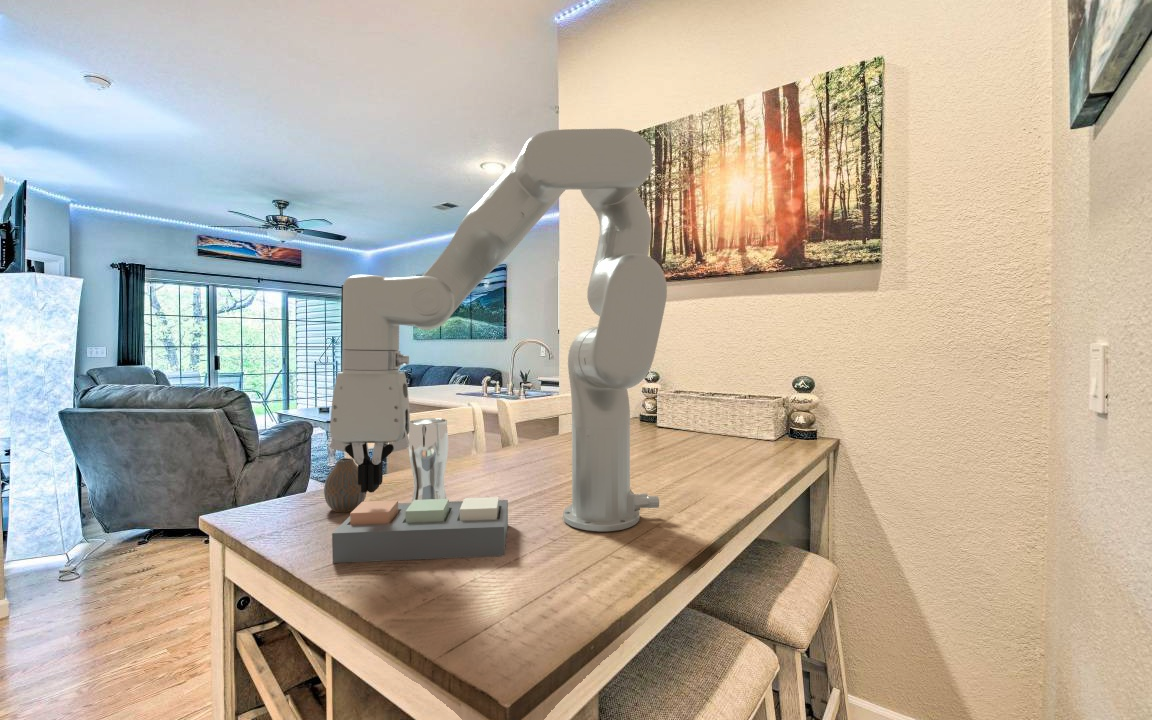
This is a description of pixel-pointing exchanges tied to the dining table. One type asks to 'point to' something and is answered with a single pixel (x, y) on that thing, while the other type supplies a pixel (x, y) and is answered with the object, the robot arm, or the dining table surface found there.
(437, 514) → the sage button
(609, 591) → the dining table surface
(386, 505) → the terracotta button
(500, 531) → the button panel
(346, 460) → the vase
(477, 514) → the cream button
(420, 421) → the beer glass
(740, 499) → the dining table surface
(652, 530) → the dining table surface
